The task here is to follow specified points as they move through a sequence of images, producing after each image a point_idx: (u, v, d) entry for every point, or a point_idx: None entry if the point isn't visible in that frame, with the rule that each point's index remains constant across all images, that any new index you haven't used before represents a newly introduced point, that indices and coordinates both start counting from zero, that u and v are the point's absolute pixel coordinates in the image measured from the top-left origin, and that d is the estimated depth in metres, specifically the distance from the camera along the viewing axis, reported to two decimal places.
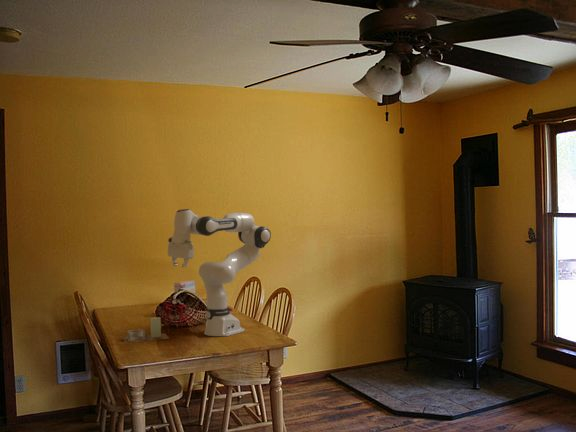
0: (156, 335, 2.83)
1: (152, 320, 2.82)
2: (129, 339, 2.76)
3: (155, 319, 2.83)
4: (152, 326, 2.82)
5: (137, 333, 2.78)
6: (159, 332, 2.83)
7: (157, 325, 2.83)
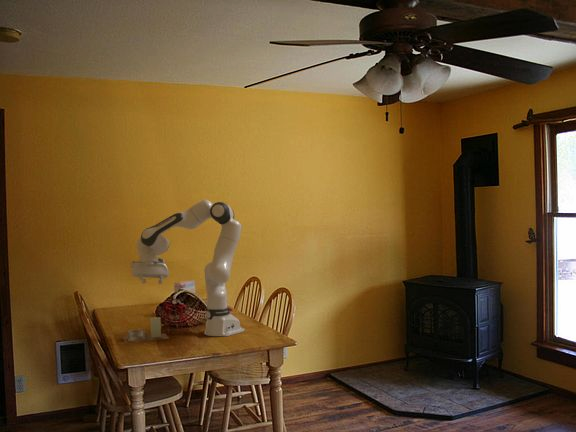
0: (156, 335, 2.83)
1: (152, 320, 2.82)
2: (129, 339, 2.76)
3: (155, 319, 2.83)
4: (152, 326, 2.82)
5: (137, 333, 2.78)
6: (159, 332, 2.83)
7: (157, 325, 2.83)
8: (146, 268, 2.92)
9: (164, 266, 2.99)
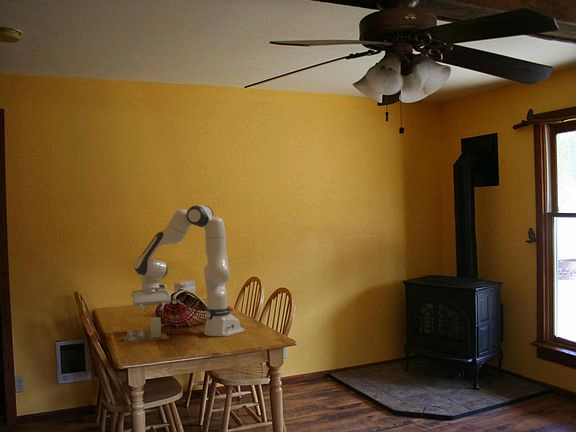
0: (156, 335, 2.83)
1: (152, 320, 2.82)
2: (129, 339, 2.76)
3: (155, 319, 2.83)
4: (152, 326, 2.82)
5: (137, 333, 2.78)
6: (159, 332, 2.83)
7: (157, 325, 2.83)
8: (146, 296, 2.94)
9: (166, 292, 2.99)
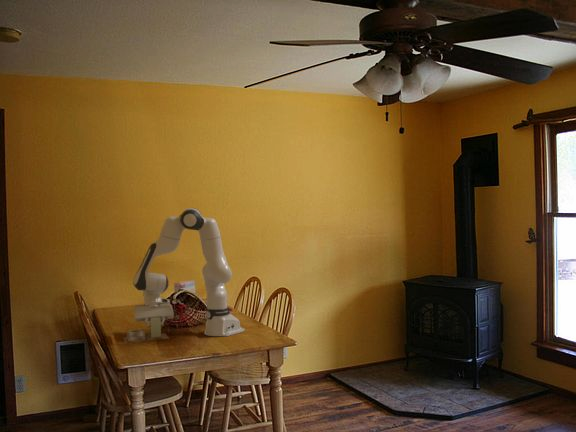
0: (156, 335, 2.83)
1: (152, 320, 2.82)
2: (129, 339, 2.76)
3: (155, 319, 2.83)
4: (152, 326, 2.82)
5: (137, 333, 2.78)
6: (159, 332, 2.83)
7: (157, 325, 2.83)
8: (149, 311, 2.86)
9: (169, 306, 2.91)
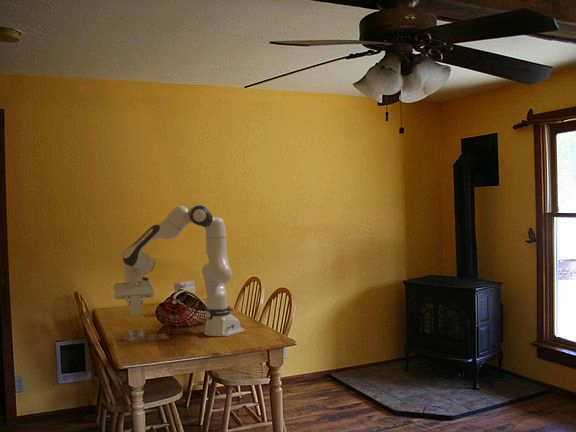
0: (136, 313, 2.79)
1: (132, 298, 2.78)
2: (129, 339, 2.76)
3: (135, 297, 2.79)
4: (132, 304, 2.78)
5: (137, 333, 2.78)
6: (139, 310, 2.79)
7: (136, 303, 2.79)
8: (129, 289, 2.82)
9: (149, 285, 2.87)
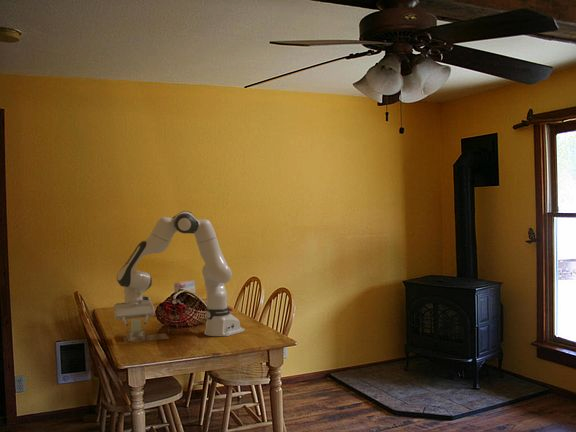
0: None
1: (132, 322, 2.78)
2: (129, 339, 2.76)
3: (135, 321, 2.79)
4: (132, 328, 2.78)
5: (137, 333, 2.78)
6: None
7: (137, 326, 2.79)
8: (129, 309, 2.82)
9: (150, 304, 2.87)
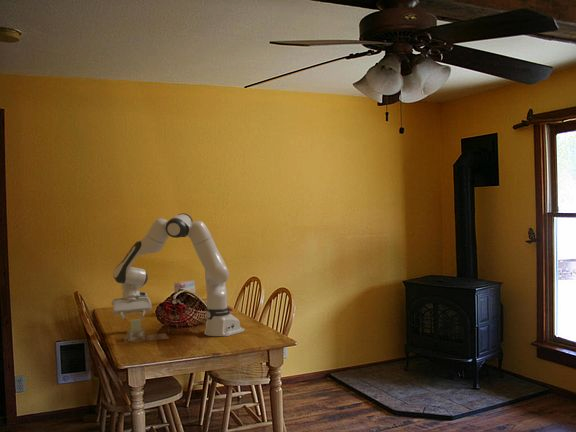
0: None
1: (132, 322, 2.78)
2: (129, 339, 2.76)
3: (135, 321, 2.79)
4: (132, 328, 2.78)
5: (137, 333, 2.78)
6: None
7: (137, 326, 2.79)
8: (127, 304, 2.94)
9: (146, 299, 2.99)
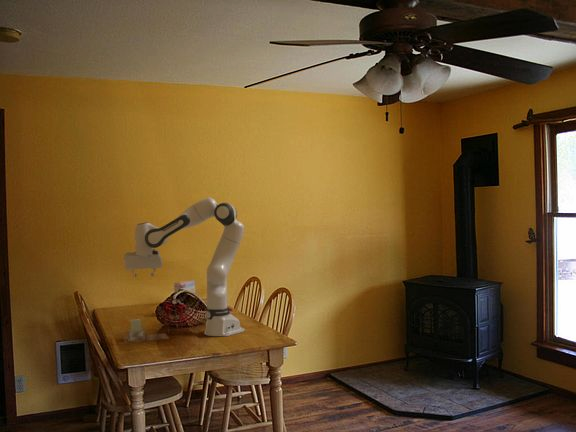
0: None
1: (132, 322, 2.78)
2: (129, 339, 2.76)
3: (135, 321, 2.79)
4: (132, 328, 2.78)
5: (137, 333, 2.78)
6: None
7: (137, 326, 2.79)
8: (139, 262, 2.96)
9: (158, 258, 3.00)
